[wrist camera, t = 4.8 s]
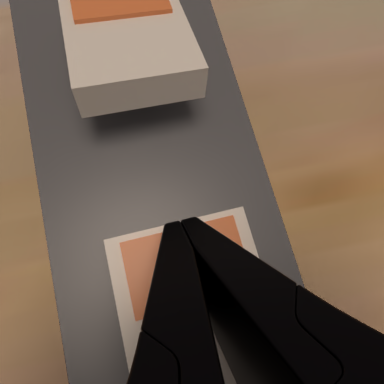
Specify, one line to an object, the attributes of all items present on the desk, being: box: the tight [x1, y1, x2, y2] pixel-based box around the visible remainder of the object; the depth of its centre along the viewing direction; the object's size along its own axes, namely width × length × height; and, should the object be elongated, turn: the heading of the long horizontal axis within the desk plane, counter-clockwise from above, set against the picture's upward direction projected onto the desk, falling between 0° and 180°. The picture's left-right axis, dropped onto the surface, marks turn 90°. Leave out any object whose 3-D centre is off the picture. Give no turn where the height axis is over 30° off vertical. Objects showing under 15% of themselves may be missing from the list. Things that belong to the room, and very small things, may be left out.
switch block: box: [9, 0, 305, 384], centre depth 15 cm, size 20×8×8 cm, turn 15°
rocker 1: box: [58, 0, 209, 118], centre depth 11 cm, size 5×4×1 cm
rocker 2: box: [104, 206, 259, 384], centre depth 9 cm, size 5×4×1 cm
